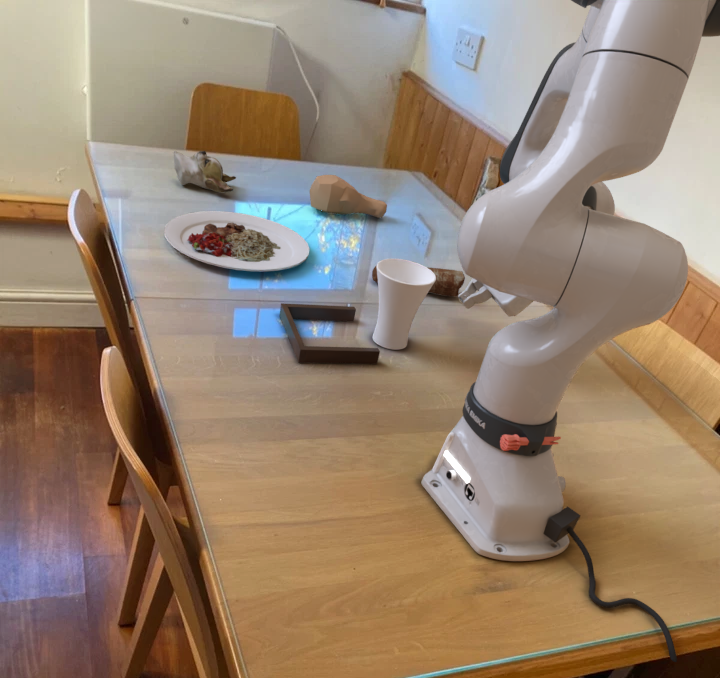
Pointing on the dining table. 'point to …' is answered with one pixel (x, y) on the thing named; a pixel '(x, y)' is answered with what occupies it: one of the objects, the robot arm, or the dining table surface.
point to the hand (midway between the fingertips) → (462, 302)
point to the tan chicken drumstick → (342, 198)
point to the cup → (399, 299)
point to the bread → (441, 281)
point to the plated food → (236, 241)
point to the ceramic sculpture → (201, 171)
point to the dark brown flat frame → (316, 352)
